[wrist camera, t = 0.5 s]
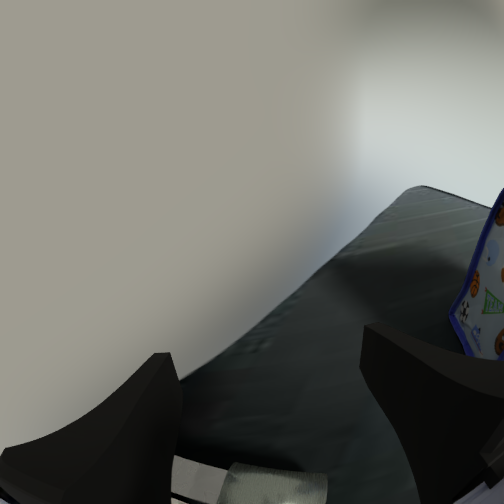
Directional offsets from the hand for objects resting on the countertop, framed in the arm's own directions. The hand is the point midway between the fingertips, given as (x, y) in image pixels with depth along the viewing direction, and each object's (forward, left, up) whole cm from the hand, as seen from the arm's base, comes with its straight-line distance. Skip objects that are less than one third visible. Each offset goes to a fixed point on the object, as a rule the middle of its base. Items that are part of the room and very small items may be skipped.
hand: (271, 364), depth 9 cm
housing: (-4, +4, -18) cm, 18 cm away
